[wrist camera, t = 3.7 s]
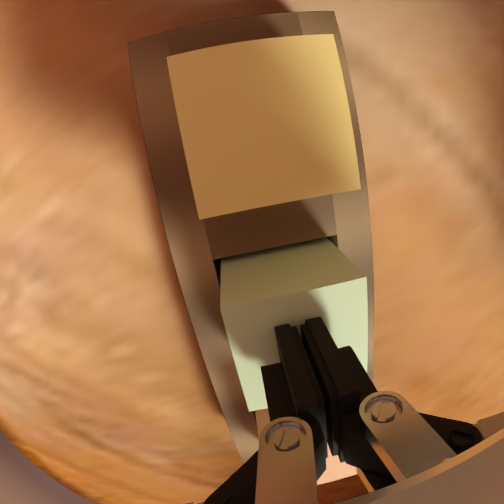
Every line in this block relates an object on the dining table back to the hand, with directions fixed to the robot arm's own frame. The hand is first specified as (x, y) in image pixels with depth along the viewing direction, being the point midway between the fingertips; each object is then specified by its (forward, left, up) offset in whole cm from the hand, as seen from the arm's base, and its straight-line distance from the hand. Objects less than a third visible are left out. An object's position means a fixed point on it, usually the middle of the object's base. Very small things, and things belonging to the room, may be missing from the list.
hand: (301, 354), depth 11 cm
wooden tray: (0, 0, -8) cm, 8 cm away
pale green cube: (0, 0, -5) cm, 5 cm away
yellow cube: (+8, -2, -5) cm, 9 cm away
